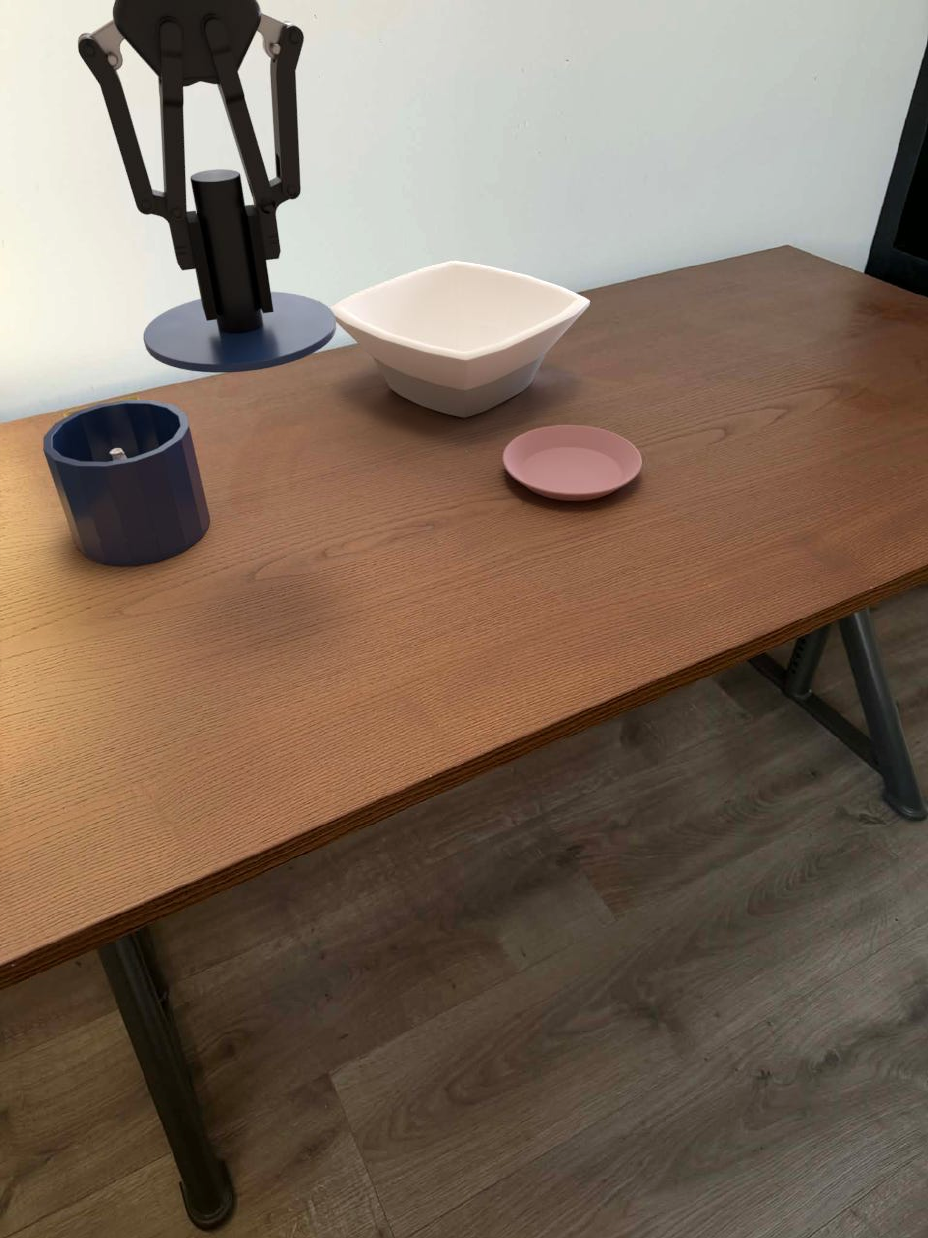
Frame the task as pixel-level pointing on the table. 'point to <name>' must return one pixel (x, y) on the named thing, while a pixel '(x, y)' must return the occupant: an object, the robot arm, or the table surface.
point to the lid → (235, 299)
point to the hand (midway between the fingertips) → (237, 308)
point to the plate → (572, 462)
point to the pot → (128, 481)
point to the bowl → (459, 332)
